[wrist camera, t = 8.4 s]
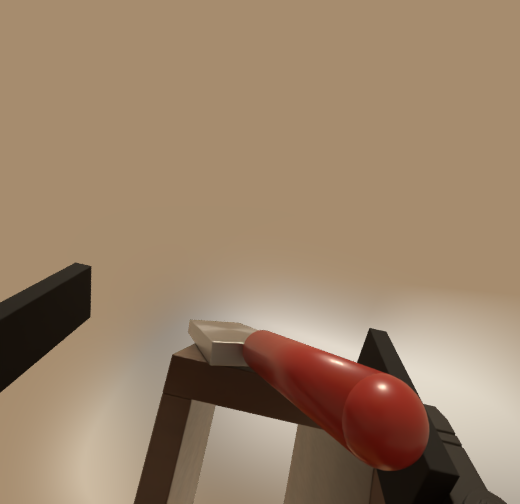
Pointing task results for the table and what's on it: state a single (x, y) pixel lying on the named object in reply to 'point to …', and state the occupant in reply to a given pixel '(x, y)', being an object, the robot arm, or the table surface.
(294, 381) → the putty knife
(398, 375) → the robot arm
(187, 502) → the open wooden cubby
